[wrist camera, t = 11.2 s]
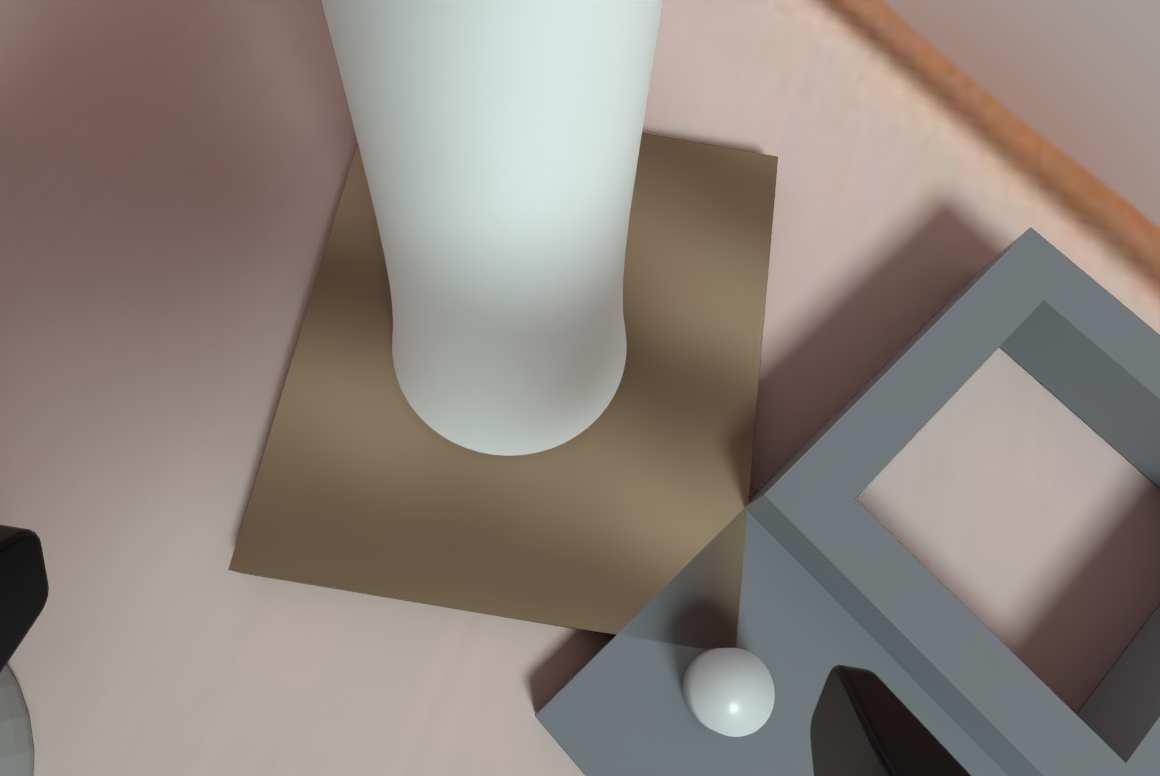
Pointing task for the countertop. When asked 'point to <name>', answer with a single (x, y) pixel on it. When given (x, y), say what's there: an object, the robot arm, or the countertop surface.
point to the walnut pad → (548, 478)
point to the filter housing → (887, 575)
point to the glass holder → (14, 729)
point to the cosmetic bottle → (501, 201)
